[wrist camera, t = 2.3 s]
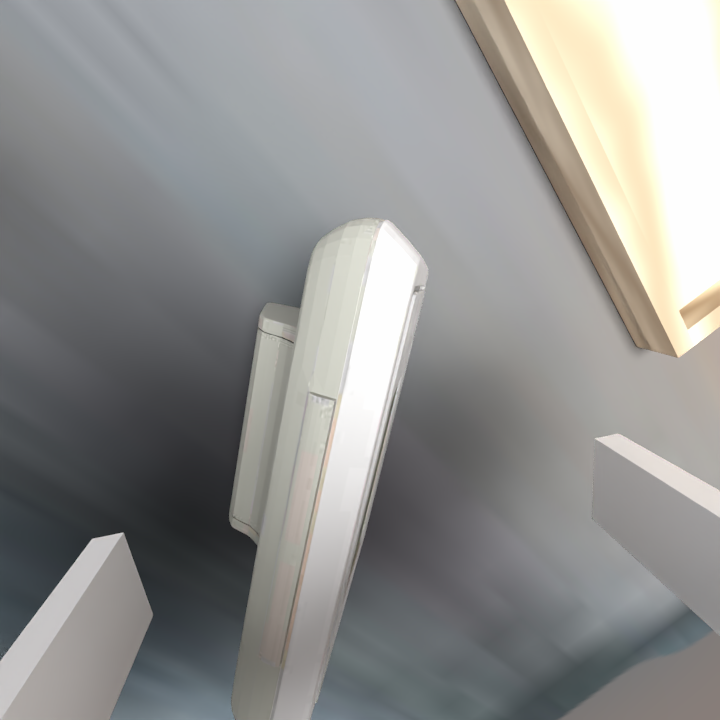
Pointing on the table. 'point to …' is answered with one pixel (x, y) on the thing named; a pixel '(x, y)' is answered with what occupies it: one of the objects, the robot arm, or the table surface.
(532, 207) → the table surface
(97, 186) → the table surface
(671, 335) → the birch tray
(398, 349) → the digital clock
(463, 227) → the table surface
